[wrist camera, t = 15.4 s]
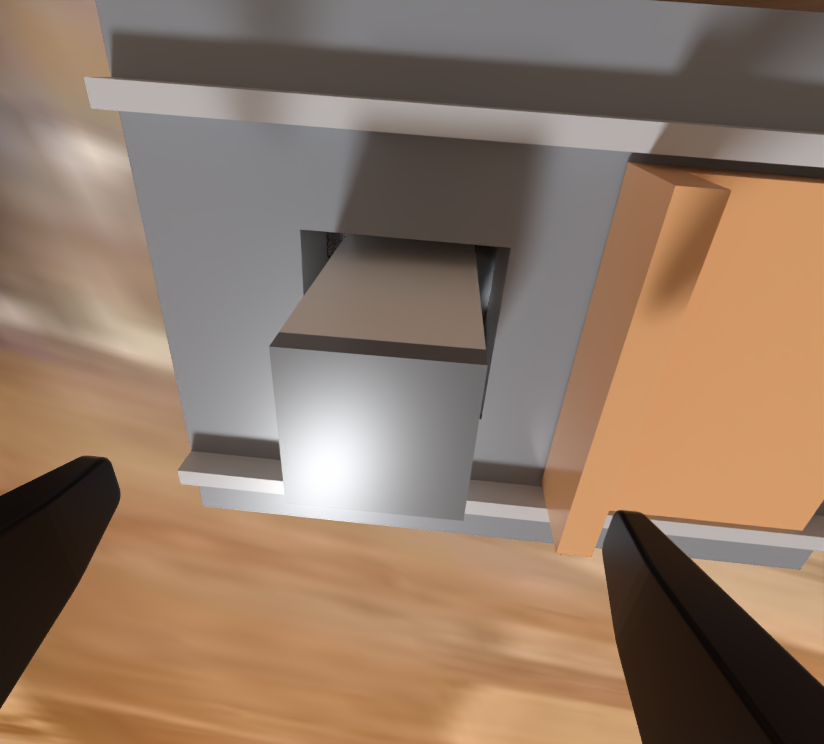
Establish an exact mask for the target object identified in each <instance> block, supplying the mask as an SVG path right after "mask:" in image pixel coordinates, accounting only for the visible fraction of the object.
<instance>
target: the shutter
mask: <svg viewBox="0 0 824 744" xmlns="http://www.w3.org/2000/svg"><path fill="white" fill-rule="evenodd" d="M541 483H542V488H543V493H544V498H545V502H546V507H547V512H548V517H549V521H550V526H551V531H552V536H553V541H554V545H555V550H556V553H557V554H566V555H575V556H585V557H592V555H593V552H594V549H595V547H596V544H597V542H598V539H599V536H600V534H601V531H602V528H603V526H604V523H605V521H606V518H607V515H608V513H609V511H618V510H628V511H638V512H641V513H643V514H646V515H655V516H665V517H675V518H684V519H694V520H703V521H713V522H723V523H732V524H742V525H752V526H761V527H771V528H781V529H790V530H800V531H803V529H804V528H805V526H806V525H807V523H808V522H809V521H810V519H811V518H812V516H813V515H814V513H815V512H816V510H817V509H818V507H819V506H820V505H821V503H822V502H823V500H824V178H818V177H806V176H793V175H781V174H769V173H756V172H744V171H732V170H720V169H707V168H695V167H683V166H670V165H658V164H646V163H633V162H628V163H627V167H626V171H625V175H624V178H623V182H622V186H621V189H620V193H619V197H618V200H617V204H616V208H615V211H614V215H613V219H612V223H611V226H610V230H609V234H608V237H607V241H606V245H605V248H604V252H603V256H602V260H601V263H600V267H599V271H598V274H597V278H596V282H595V285H594V289H593V293H592V296H591V300H590V304H589V308H588V311H587V315H586V319H585V322H584V326H583V330H582V333H581V337H580V341H579V344H578V348H577V352H576V356H575V359H574V363H573V367H572V370H571V374H570V378H569V381H568V385H567V389H566V392H565V396H564V400H563V404H562V407H561V411H560V415H559V418H558V422H557V426H556V429H555V433H554V437H553V440H552V444H551V448H550V452H549V455H548V459H547V463H546V466H545V470H544V474H543V477H542V481H541Z"/></svg>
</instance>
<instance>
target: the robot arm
mask: <svg viewBox="0 0 824 744" xmlns="http://www.w3.org/2000/svg"><path fill="white" fill-rule="evenodd" d="M119 500H120V488H119V485H118V482H117V479H116V476H115V472H114V469H113V466H112V464H111V462H110V461H109V460H108V459H107V458H105V457H97V456H81V457H79V458H77V459H75V460H73V461H71V462H69V463H67V464H65V465H63V466H60V467H58V468H56V469H54V470H52V471H50V472H48V473H46V474H44V475H42V476H40V477H38V478H36V479H34V480H32V481H30V482H28V483H26V484H24V485H22V486H20V487H18V488H15V489H13V490H11V491H9V492H7V493H5V494H3V495H1V496H0V709H1V707H2V705H3V704H4V702H5V701H6V699H7V697H8V696H9V694H10V693H11V691H12V689H13V688H14V686H15V685H16V683H17V681H18V680H19V678H20V677H21V675H22V673H23V672H24V670H25V669H26V667H27V665H28V664H29V662H30V661H31V659H32V657H33V656H34V654H35V653H36V651H37V650H38V648H39V646H40V645H41V643H42V642H43V640H44V638H45V637H46V635H47V634H48V632H49V630H50V629H51V627H52V626H53V624H54V622H55V621H56V619H57V618H58V616H59V614H60V613H61V611H62V610H63V608H64V606H65V605H66V603H67V602H68V600H69V598H70V597H71V595H72V593H73V592H74V590H75V588H76V587H77V585H78V583H79V582H80V580H81V578H82V576H83V574H84V572H85V570H86V568H87V566H88V564H89V562H90V560H91V558H92V556H93V554H94V552H95V550H96V548H97V546H98V544H99V542H100V540H101V538H102V536H103V534H104V532H105V530H106V528H107V526H108V524H109V522H110V520H111V518H112V516H113V514H114V512H115V510H116V508H117V506H118V504H119ZM602 554H603V562H604V568H605V575H606V581H607V588H608V595H609V601H610V608H611V614H612V621H613V628H614V633H615V639H616V644H617V648H618V652H619V657H620V660H621V664H622V668H623V672H624V676H625V679H626V683H627V687H628V691H629V695H630V698H631V702H632V706H633V710H634V713H635V717H636V721H637V725H638V729H639V732H640V736H641V740H642V744H824V686H823V685H822V684H821V683H820V682H819V681H818V680H817V679H816V678H815V677H814V676H813V675H811V674H810V673H809V672H808V671H807V670H806V669H805V668H804V667H803V666H802V665H801V664H800V663H799V662H798V661H797V660H796V659H795V658H794V657H793V656H792V655H791V654H790V653H789V652H787V651H786V650H785V649H784V648H783V647H782V646H781V645H780V644H779V643H778V642H777V641H776V640H775V639H774V638H773V637H772V636H771V635H770V634H769V633H768V632H767V631H766V630H764V629H763V628H762V627H761V626H760V625H759V624H758V623H757V622H756V621H755V620H754V619H753V618H752V617H751V616H750V615H749V614H748V613H747V612H746V611H745V610H744V609H743V608H742V607H740V606H739V605H738V604H737V603H736V602H735V601H734V600H733V599H732V598H731V597H730V596H729V595H728V594H727V593H726V592H725V591H724V590H723V589H722V588H721V587H720V586H719V585H717V584H716V583H715V582H714V581H713V580H712V579H711V578H710V577H709V576H708V575H707V574H706V573H705V572H704V571H703V570H702V569H701V568H700V567H699V566H698V565H697V564H696V563H695V562H693V561H692V560H691V559H690V558H689V557H688V556H687V555H686V554H685V553H684V552H683V551H682V550H681V549H680V548H679V547H678V546H677V545H676V544H675V543H674V542H673V541H672V540H671V539H669V538H668V537H667V536H666V535H665V534H664V533H663V532H662V531H661V530H660V529H659V528H658V527H657V526H656V525H655V524H654V523H653V522H652V521H651V520H650V519H649V518H648V517H646V516H645V515H644V514H643V513H641V512H638V511H628V510H618V511H616V512H615V513H614V515H613V517H612V520H611V522H610V525H609V528H608V530H607V533H606V535H605V538H604V541H603V546H602Z"/></svg>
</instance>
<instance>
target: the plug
mask: <svg viewBox="0 0 824 744" xmlns="http://www.w3.org/2000/svg"><path fill="white" fill-rule="evenodd" d="M269 352H270V362H271V371H272V380H273V390H274V399H275V409H276V418H277V428H278V437H279V446H280V456H281V465H282V475H283V484H284V494H285V503H286V504H295V505H305V506H316V507H326V508H336V509H347V510H357V511H367V512H377V513H388V514H398V515H408V516H418V517H429V518H439V519H449V520H459V521H464V514H465V508H466V502H467V495H468V489H469V482H470V476H471V470H472V463H473V457H474V450H475V444H476V437H477V431H478V425H479V418H480V412H481V405H482V399H483V393H484V386H485V380H486V373H487V367H488V363H487V354H486V345H485V336H484V327H483V318H482V309H481V300H480V292H479V283H478V274H477V265H476V256H475V247H474V245H473V244H461V243H450V242H438V241H427V240H415V239H404V238H393V237H381V236H370V235H358V234H347V235H346V236H345V237H344V239H343V240H342V242H341V243H340V245H339V246H338V248H337V249H336V250H335V252H334V253H333V255H332V256H331V258H330V259H329V261H328V262H327V263H326V265H325V266H324V268H323V269H322V271H321V272H320V274H319V275H318V276H317V278H316V279H315V281H314V282H313V284H312V285H311V286H310V288H309V289H308V291H307V292H306V294H305V295H304V297H303V298H302V299H301V301H300V302H299V304H298V305H297V307H296V308H295V310H294V311H293V312H292V314H291V315H290V317H289V318H288V320H287V321H286V323H285V324H284V325H283V327H282V328H281V330H280V331H279V333H278V334H277V336H276V337H275V338H274V340H273V341H272V343H271V344H270V346H269Z"/></svg>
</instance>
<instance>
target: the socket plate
mask: <svg viewBox="0 0 824 744" xmlns="http://www.w3.org/2000/svg"><path fill="white" fill-rule="evenodd" d="M95 1H96V6H97V11H98V16H99V20H100V25H101V30H102V34H103V39H104V44H105V48H106V53H107V58H108V62H109V67H110V72H111V76H112V77H84V80H85V85H86V89H87V93H88V97H89V101H90V105H91V109H102V110H115V111H119V114H120V119H121V123H122V128H123V133H124V137H125V142H126V147H127V151H128V156H129V161H130V166H131V170H132V175H133V180H134V184H135V189H136V194H137V198H138V203H139V208H140V212H141V217H142V222H143V226H144V231H145V236H146V241H147V245H148V250H149V255H150V259H151V264H152V269H153V273H154V278H155V283H156V287H157V292H158V297H159V301H160V306H161V311H162V316H163V320H164V325H165V330H166V334H167V339H168V344H169V348H170V353H171V358H172V362H173V367H174V372H175V376H176V381H177V386H178V391H179V395H180V400H181V405H182V409H183V414H184V419H185V423H186V428H187V433H188V437H189V442H190V447H191V452H190V454H189V455H188V456H187V458H186V459H185V461H184V462H183V463H182V465H181V466H180V468H179V469H178V475H179V479H180V483H181V484H187V485H196V486H199V489H200V494H201V498H202V503H203V506H205V507H214V508H224V509H233V510H243V511H252V512H262V513H271V514H280V515H290V516H299V517H309V518H318V519H327V520H337V521H346V522H356V523H365V524H375V525H384V526H393V527H403V528H412V529H422V530H431V531H441V532H450V533H459V534H469V535H478V536H488V537H497V538H506V539H516V540H525V541H535V542H544V543H554V541H553V536H552V531H551V526H550V521H549V517H548V512H547V507H546V502H545V498H544V493H543V488H542V483H541V481H542V477H543V474H544V470H545V466H546V463H547V459H548V455H549V452H550V448H551V444H552V440H553V437H554V433H555V429H556V426H557V422H558V418H559V415H560V411H561V407H562V404H563V400H564V396H565V392H566V389H567V385H568V381H569V378H570V374H571V370H572V367H573V363H574V359H575V356H576V352H577V348H578V344H579V341H580V337H581V333H582V330H583V326H584V322H585V319H586V315H587V311H588V308H589V304H590V300H591V296H592V293H593V289H594V285H595V282H596V278H597V274H598V271H599V267H600V263H601V260H602V256H603V252H604V248H605V245H606V241H607V237H608V234H609V230H610V226H611V223H612V219H613V215H614V211H615V208H616V204H617V200H618V197H619V193H620V189H621V186H622V182H623V178H624V175H625V171H626V167H627V163H628V162H633V163H646V164H658V165H670V166H683V167H695V168H707V169H720V170H732V171H744V172H756V173H769V174H781V175H793V176H806V177H818V178H824V12H811V11H797V10H782V9H768V8H754V7H740V6H726V5H712V4H697V3H683V2H669V1H655V0H95ZM327 232H335V233H347V234H358V235H370V236H381V237H393V238H404V239H415V240H427V241H438V242H450V243H461V244H473V245H484V246H496V247H497V252H496V259H495V265H494V272H493V278H492V284H491V291H490V297H489V303H488V310H487V316H486V323H485V329H484V336H485V345H486V354H487V363H488V367H487V373H486V380H485V386H484V393H483V399H482V405H481V412H480V418H479V425H478V431H477V437H476V444H475V450H474V457H473V463H472V470H471V476H470V482H469V489H468V495H467V502H466V508H465V514H464V521H459V520H449V519H439V518H429V517H418V516H408V515H398V514H388V513H377V512H367V511H357V510H347V509H336V508H326V507H316V506H305V505H295V504H286V503H285V494H284V484H283V475H282V465H281V456H280V446H279V437H278V428H277V418H276V409H275V399H274V390H273V380H272V371H271V362H270V352H269V346H270V344H271V343H272V341H273V340H274V338H275V337H276V336H277V334H278V333H279V331H280V330H281V328H282V327H283V325H284V324H285V323H286V321H287V320H288V318H289V317H290V315H291V314H292V312H293V311H294V310H295V308H296V307H297V305H298V304H299V302H300V301H301V299H302V298H303V297H304V295H305V294H306V292H307V291H308V289H309V288H310V286H311V285H312V284H313V282H314V281H315V279H316V278H317V276H318V275H319V274H320V272H321V271H322V269H323V268H324V266H325V265H326V263H327ZM615 512H616V511H609V513H608V515H607V518H606V521H605V523H604V526H603V528H602V531H601V534H600V536H599V539H598V542H597V544H596V547H595V548H601V549H602V546H603V541H604V538H605V535H606V533H607V530H608V528H609V525H610V522H611V520H612V517H613V515H614V513H615ZM644 515H645V516H646V517H648V518H649V519H650V520H651V521H652V522H653V523H654V524H655V525H656V526H657V527H658V528H659V529H660V530H661V531H662V532H663V533H664V534H665V535H666V536H667V537H668V538H669V539H671V540H672V541H673V542H674V543H675V544H676V545H677V546H678V547H679V548H680V549H681V550H682V551H683V552H684V553H685V554H686V555H687V556H688V557H689V558H695V559H704V560H714V561H723V562H733V563H742V564H751V565H761V566H770V567H780V568H789V569H799V570H800V569H801V567H802V566H803V564H804V563H805V562H806V560H807V559H808V558H809V556H810V555H811V553H812V552H813V551H814V550H816V551H824V500H823V502H822V503H821V505H820V506H819V507H818V509H817V510H816V512H815V513H814V515H813V516H812V518H811V519H810V521H809V522H808V523H807V525H806V526H805V528H804V529H803V531H800V530H790V529H781V528H771V527H761V526H752V525H742V524H732V523H723V522H713V521H703V520H694V519H684V518H675V517H665V516H655V515H646V514H644Z"/></svg>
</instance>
